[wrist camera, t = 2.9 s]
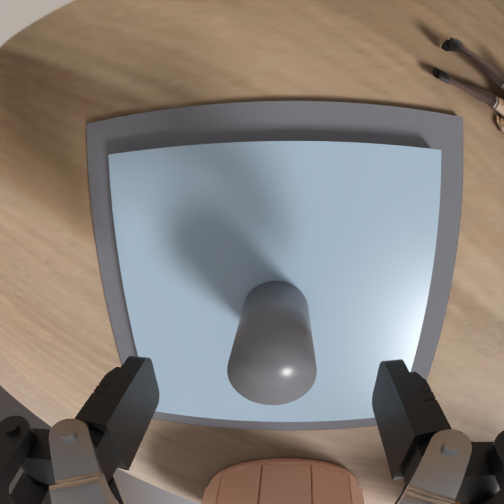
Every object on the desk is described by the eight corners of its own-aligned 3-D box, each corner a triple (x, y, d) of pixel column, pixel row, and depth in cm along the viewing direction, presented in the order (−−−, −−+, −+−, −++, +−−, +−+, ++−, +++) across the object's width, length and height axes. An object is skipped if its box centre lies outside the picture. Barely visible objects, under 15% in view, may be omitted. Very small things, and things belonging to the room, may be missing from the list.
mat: (458, 117, 13) (462, 116, 13) (410, 417, 19) (411, 420, 18) (90, 124, 15) (86, 123, 15) (140, 412, 21) (138, 416, 20)
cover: (432, 150, 13) (503, 152, 8) (393, 405, 18) (416, 472, 12) (117, 154, 15) (42, 159, 9) (157, 401, 20) (126, 465, 14)
